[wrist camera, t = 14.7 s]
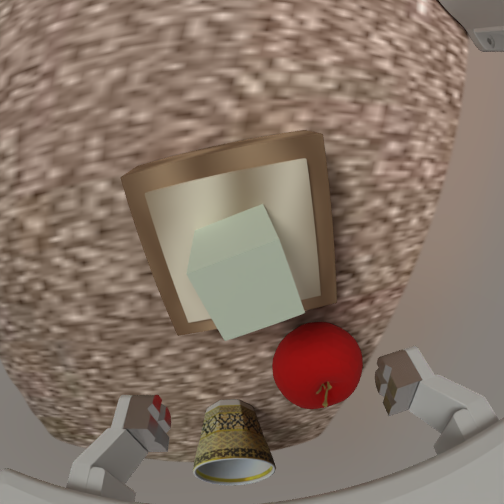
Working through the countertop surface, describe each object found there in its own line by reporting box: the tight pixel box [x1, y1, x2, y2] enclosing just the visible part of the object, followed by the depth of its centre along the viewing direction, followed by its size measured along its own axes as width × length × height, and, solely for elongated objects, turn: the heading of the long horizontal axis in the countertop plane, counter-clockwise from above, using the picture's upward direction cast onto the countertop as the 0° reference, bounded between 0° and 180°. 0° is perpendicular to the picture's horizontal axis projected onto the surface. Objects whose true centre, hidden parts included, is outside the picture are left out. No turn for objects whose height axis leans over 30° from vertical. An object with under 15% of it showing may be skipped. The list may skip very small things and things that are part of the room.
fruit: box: [272, 322, 363, 409], centre depth 28 cm, size 9×9×10 cm
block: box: [187, 204, 305, 341], centre depth 19 cm, size 5×5×6 cm
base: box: [121, 130, 337, 336], centre depth 24 cm, size 14×14×5 cm
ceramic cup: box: [193, 399, 276, 485], centre depth 34 cm, size 13×10×10 cm
